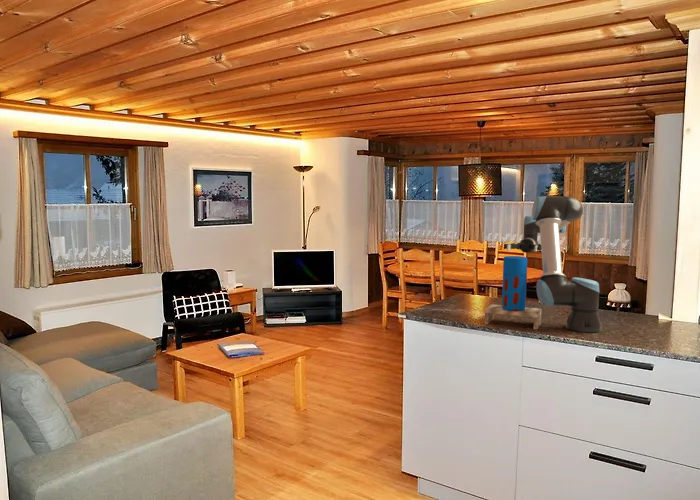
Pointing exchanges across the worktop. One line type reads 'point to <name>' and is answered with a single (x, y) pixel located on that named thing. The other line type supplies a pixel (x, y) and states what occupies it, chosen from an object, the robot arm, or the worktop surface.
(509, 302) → the thermos
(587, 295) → the robot arm
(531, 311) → the stool
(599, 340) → the worktop surface
